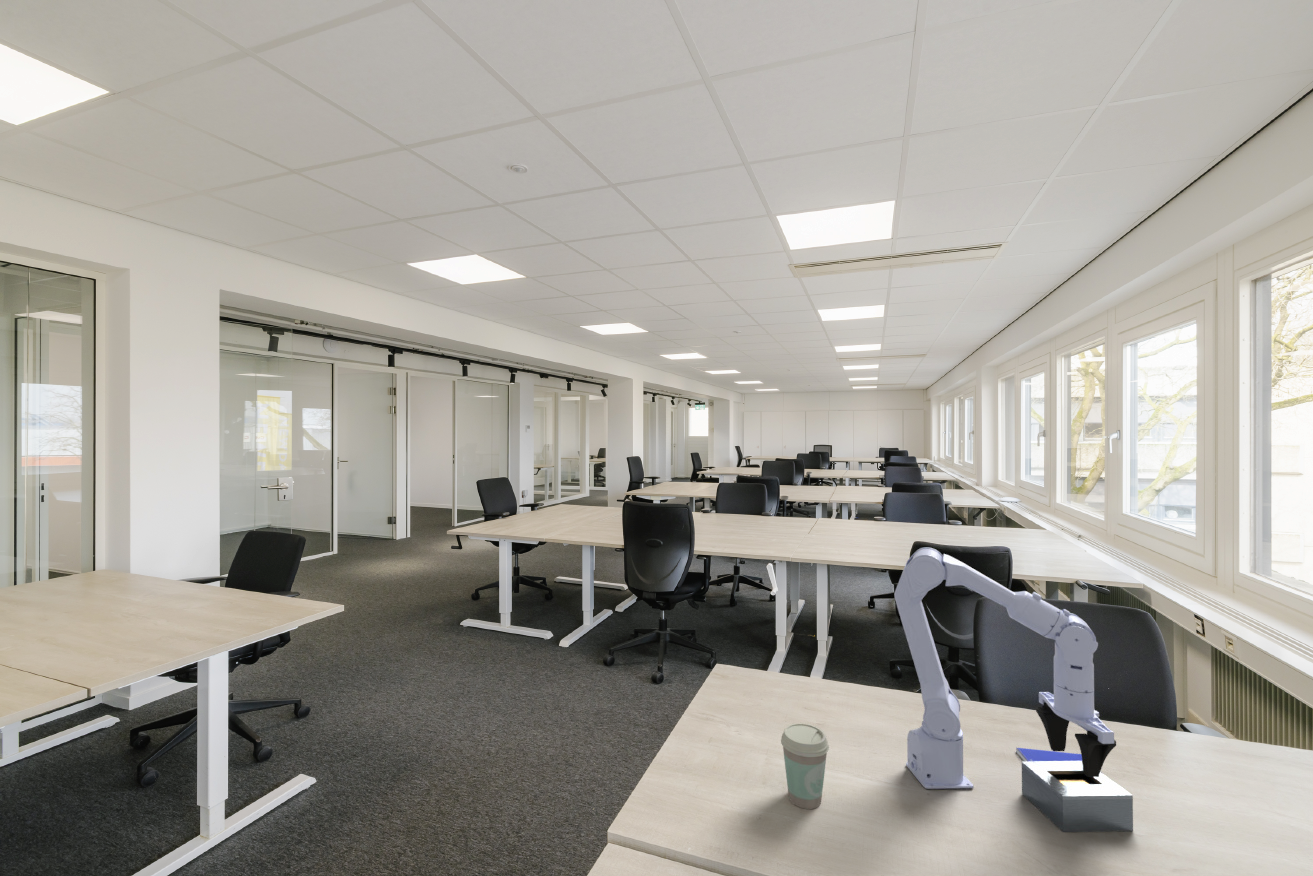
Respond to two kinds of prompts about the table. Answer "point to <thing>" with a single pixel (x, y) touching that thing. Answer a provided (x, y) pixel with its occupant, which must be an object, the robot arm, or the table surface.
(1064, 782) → the orange rectangular block
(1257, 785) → the table surface
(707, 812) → the table surface
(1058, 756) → the hard drive
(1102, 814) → the grey block with slot
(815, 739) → the coffee cup
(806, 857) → the table surface
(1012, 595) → the robot arm
